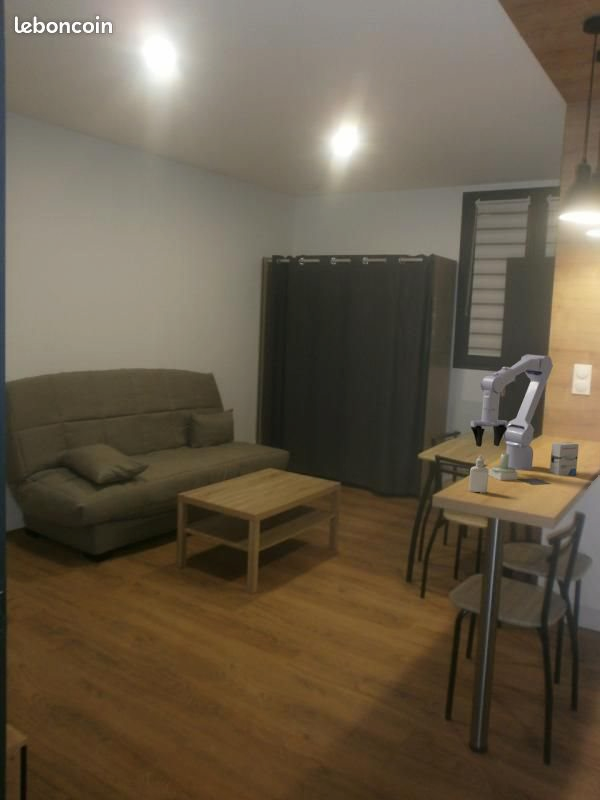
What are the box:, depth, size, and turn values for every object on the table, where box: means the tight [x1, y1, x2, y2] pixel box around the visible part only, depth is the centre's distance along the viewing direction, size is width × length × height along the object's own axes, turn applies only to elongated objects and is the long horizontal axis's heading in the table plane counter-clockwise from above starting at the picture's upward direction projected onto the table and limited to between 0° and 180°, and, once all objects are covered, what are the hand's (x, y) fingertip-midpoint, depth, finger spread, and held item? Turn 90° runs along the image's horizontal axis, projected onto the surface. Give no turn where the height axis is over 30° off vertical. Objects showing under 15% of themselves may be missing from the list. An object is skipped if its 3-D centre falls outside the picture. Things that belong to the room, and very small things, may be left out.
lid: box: [491, 453, 517, 473], centre depth 233 cm, size 8×8×6 cm
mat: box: [517, 477, 552, 486], centre depth 230 cm, size 8×8×1 cm
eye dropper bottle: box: [468, 454, 489, 494], centre depth 214 cm, size 4×6×12 cm
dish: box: [488, 467, 519, 481], centre depth 234 cm, size 7×7×3 cm
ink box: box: [549, 441, 580, 476], centre depth 244 cm, size 8×5×12 cm, turn 111°
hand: (487, 445), depth 241 cm, fingers open, 7 cm apart
